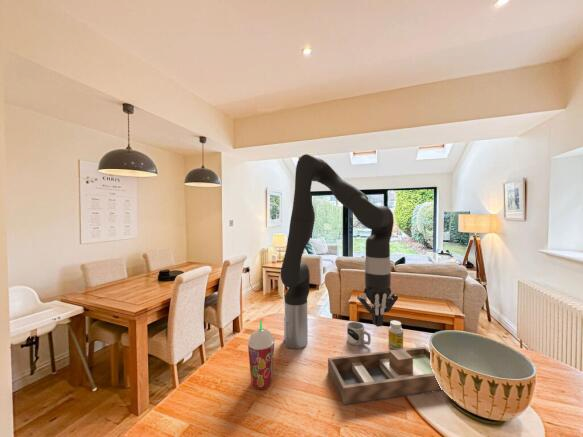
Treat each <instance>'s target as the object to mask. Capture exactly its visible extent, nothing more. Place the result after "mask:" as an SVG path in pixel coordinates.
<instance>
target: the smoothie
mask: <svg viewBox="0 0 583 437" xmlns="http://www.w3.org/2000/svg"><path fill="white" fill-rule="evenodd" d="M275 340H276V339H275V337H274V336H273V334H272V333H271V331H269V330H268V329H266V328H263V321H262V320H260V321H259V328H257V329H255V330H254V331H253V332H252V333H251V334H250V337H249V339H248V340H247V349H248V361H249V373H250V381H251V384H252V385H253V387H254V388H255V389H256V388H257V390H265V389H267V388H269V387H270V386H271V384H272V382H273V378H274V361H275V360H274V357H275V356H274V355H275V353H274V352H275Z"/></svg>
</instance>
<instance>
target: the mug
mask: <svg viewBox="0 0 583 437" xmlns="http://www.w3.org/2000/svg"><path fill="white" fill-rule="evenodd" d="M346 330H347V331H346V333H347V334H346V335H347V336H346V337H347V343H348V344H350V346H351V345H352V346H356V347H360V346H363V345H367V346H370V344H371V339H372V338H371V334H370V332H368V331H367V330H365V325H364V324H363V323H362V322H359V321H358V322H357V321H350V322H348V323H347V329H346ZM365 335H366V337H367V340H365Z"/></svg>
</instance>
